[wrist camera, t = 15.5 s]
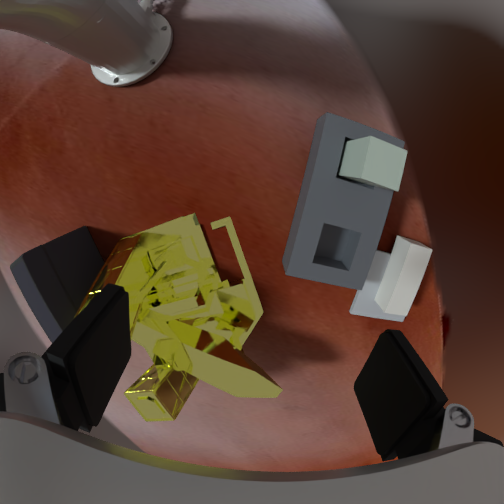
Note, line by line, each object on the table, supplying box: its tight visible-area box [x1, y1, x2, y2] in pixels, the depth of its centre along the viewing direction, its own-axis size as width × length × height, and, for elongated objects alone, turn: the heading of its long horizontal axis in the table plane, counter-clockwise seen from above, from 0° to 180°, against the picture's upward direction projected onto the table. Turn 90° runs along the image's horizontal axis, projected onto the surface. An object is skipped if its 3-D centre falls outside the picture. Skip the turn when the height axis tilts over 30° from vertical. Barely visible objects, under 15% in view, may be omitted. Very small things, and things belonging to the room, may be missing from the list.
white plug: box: [374, 235, 432, 316], centre depth 34 cm, size 4×4×10 cm
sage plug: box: [336, 136, 407, 191], centre depth 26 cm, size 4×4×10 cm
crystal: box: [74, 213, 283, 422], centre depth 31 cm, size 18×25×16 cm
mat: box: [349, 250, 405, 322], centre depth 37 cm, size 10×10×1 cm
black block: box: [10, 226, 104, 343], centre depth 30 cm, size 11×4×15 cm, turn 23°
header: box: [282, 112, 405, 290], centre depth 32 cm, size 19×10×5 cm, turn 167°
